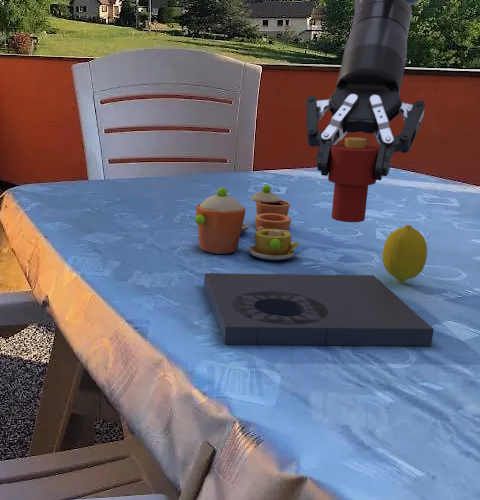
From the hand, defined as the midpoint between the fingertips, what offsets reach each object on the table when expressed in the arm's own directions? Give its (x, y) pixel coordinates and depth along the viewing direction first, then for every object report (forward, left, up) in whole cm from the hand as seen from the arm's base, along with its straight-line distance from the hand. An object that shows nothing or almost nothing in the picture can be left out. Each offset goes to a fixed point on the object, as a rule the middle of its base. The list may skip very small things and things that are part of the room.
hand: (350, 173), depth 81 cm
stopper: (-1, -2, -6) cm, 6 cm away
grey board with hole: (+4, +2, -16) cm, 17 cm away
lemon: (-12, -10, -17) cm, 22 cm away
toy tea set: (+5, -31, -17) cm, 35 cm away
